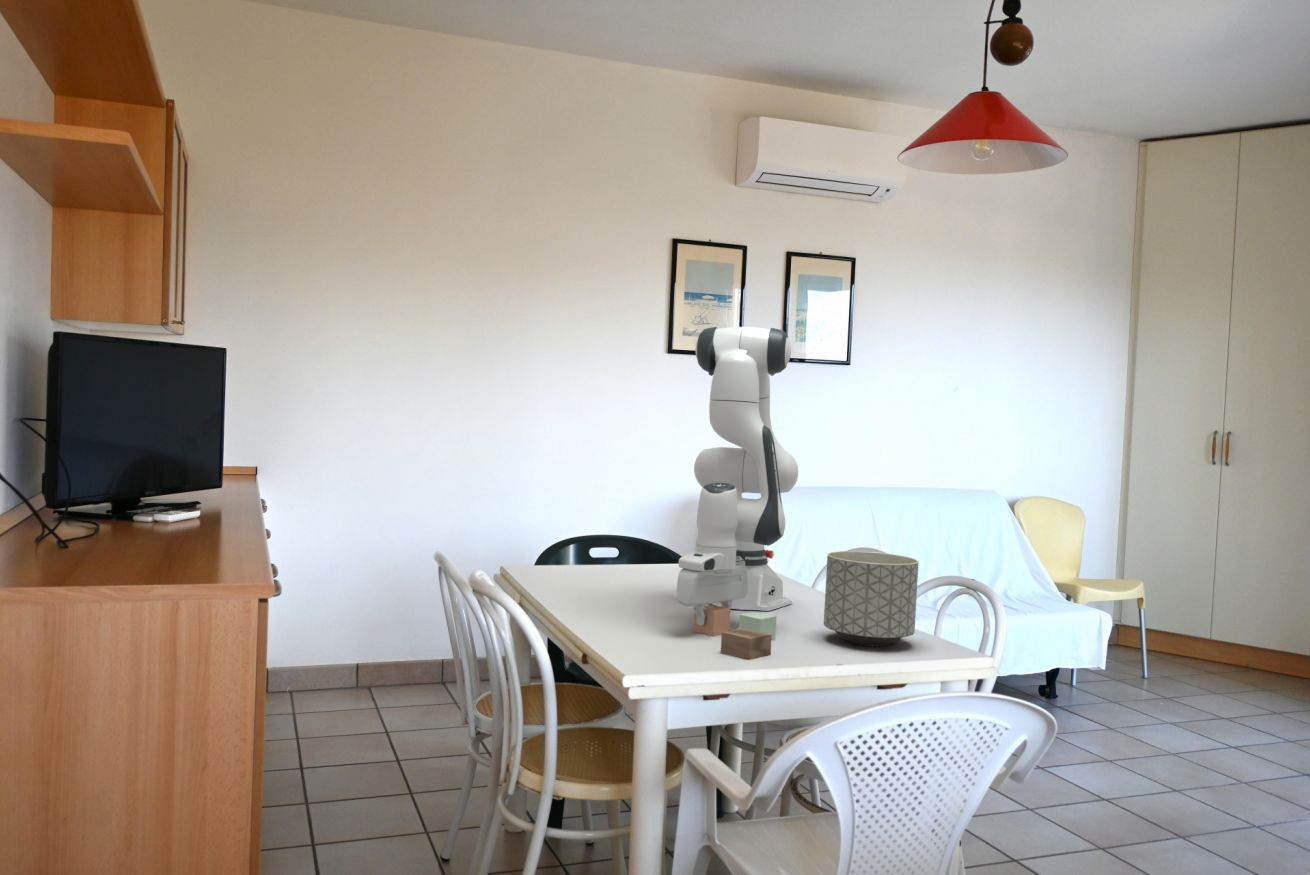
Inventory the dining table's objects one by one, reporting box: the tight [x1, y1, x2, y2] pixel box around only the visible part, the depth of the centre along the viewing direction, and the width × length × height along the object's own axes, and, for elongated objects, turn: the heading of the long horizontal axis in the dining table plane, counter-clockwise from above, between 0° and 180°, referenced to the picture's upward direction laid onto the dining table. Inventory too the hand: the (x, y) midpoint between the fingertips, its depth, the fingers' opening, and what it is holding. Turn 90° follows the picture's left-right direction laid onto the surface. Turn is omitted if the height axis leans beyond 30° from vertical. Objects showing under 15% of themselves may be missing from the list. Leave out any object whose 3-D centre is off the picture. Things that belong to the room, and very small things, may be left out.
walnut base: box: [720, 628, 772, 660], centre depth 196 cm, size 7×7×4 cm
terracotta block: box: [692, 604, 731, 636], centre depth 215 cm, size 6×6×5 cm
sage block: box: [738, 611, 777, 641], centre depth 211 cm, size 6×6×5 cm
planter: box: [823, 550, 919, 647], centre depth 213 cm, size 19×19×18 cm
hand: (711, 622), depth 215 cm, fingers closed on terracotta block, 5 cm apart
